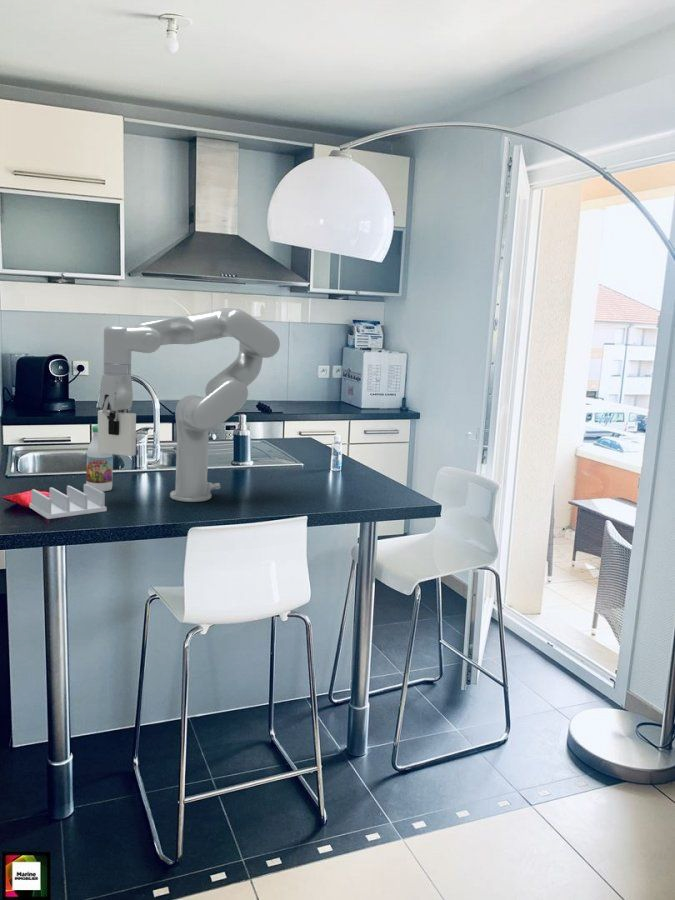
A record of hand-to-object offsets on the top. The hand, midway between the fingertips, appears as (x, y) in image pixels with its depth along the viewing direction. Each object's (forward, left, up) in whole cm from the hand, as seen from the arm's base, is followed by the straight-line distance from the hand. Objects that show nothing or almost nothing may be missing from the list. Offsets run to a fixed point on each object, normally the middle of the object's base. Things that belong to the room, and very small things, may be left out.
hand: (116, 433), depth 214 cm
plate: (0, 0, -6) cm, 6 cm away
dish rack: (+14, 0, -21) cm, 25 cm away
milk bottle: (-3, -17, -21) cm, 27 cm away
